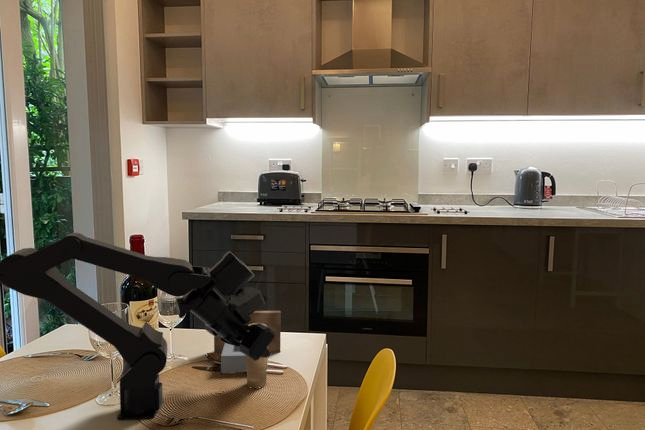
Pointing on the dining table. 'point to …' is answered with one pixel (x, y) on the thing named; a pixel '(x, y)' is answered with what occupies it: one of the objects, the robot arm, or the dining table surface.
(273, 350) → the backstop board
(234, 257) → the robot arm
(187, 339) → the dining table surface
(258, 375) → the dowel
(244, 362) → the socket block
